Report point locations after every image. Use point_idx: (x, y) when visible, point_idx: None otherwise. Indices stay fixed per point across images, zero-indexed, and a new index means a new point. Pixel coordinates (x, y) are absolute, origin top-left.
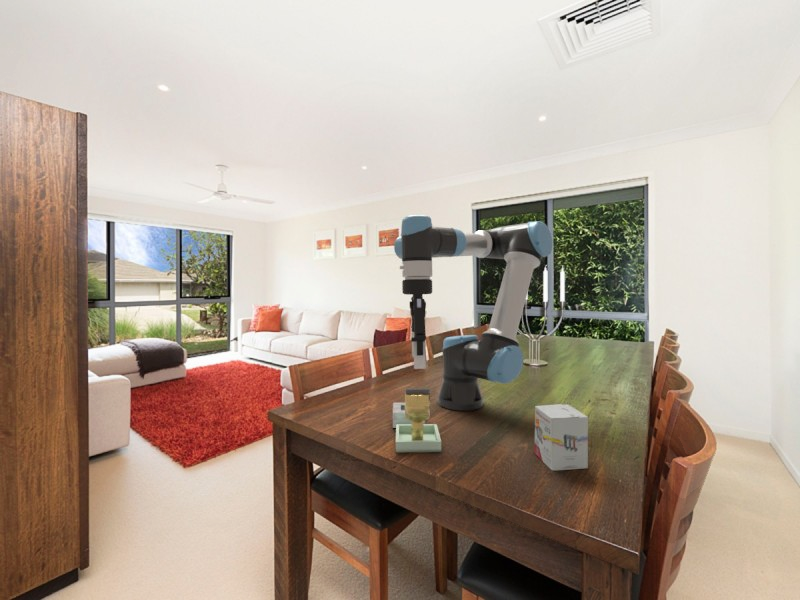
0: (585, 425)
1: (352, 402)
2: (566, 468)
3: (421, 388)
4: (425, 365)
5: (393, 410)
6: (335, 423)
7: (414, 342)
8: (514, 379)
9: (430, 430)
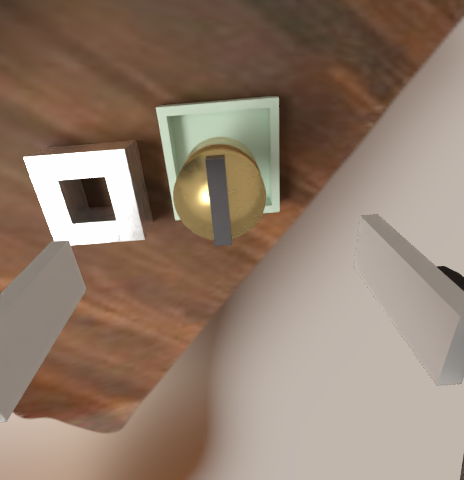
0: None
1: None
2: None
3: (212, 190)
4: (384, 222)
5: (123, 239)
6: (145, 334)
7: (456, 373)
8: None
9: (170, 125)
